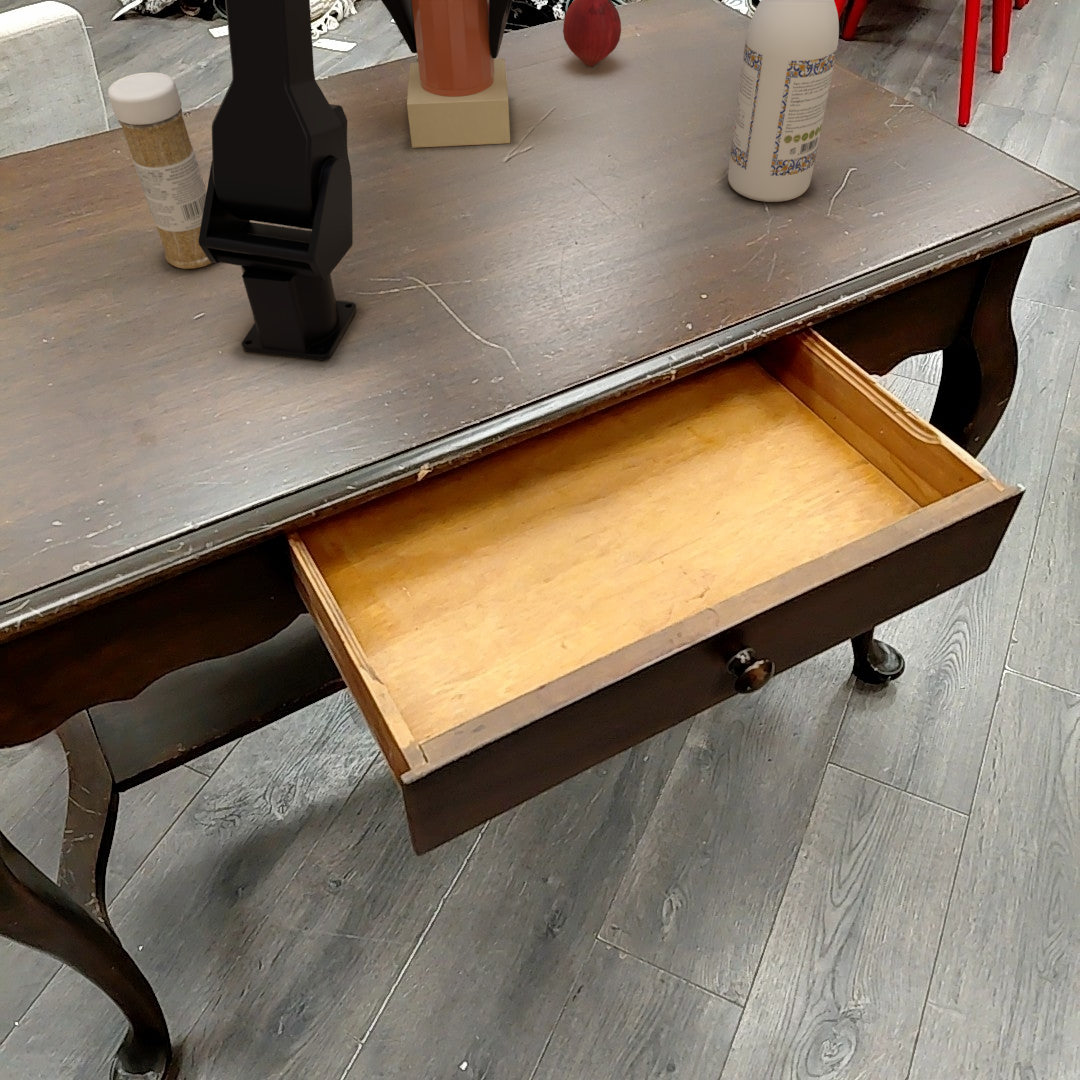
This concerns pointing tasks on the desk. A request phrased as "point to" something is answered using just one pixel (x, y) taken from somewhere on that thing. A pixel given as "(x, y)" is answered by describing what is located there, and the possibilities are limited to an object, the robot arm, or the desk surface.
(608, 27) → the onion
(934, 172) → the desk surface
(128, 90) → the sprinkles bottle
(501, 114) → the stand
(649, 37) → the desk surface
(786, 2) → the bath foam
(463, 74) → the cup
